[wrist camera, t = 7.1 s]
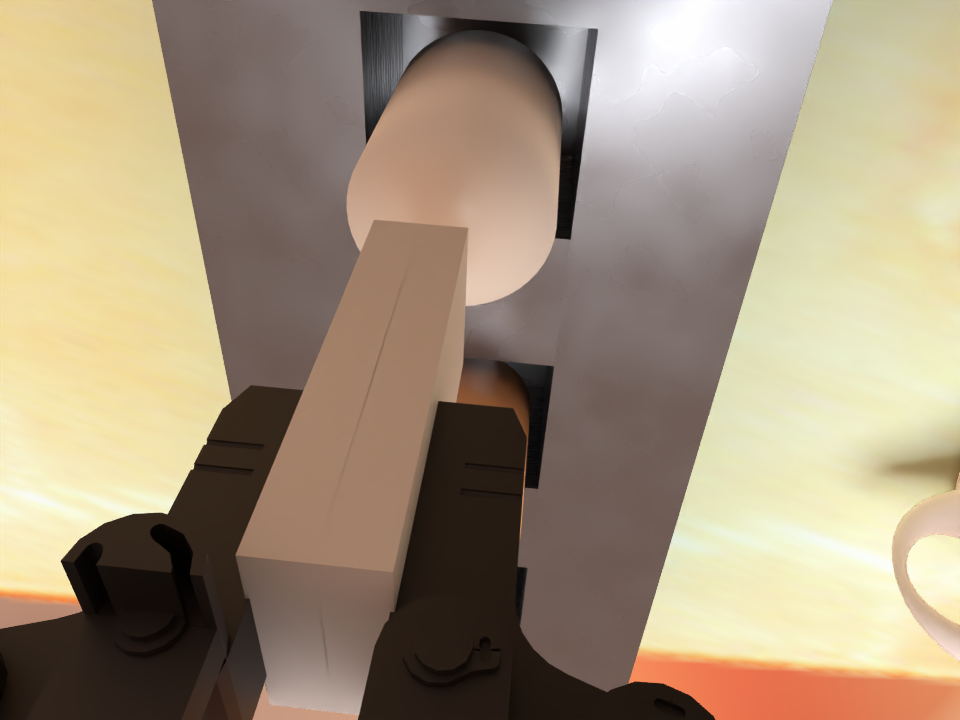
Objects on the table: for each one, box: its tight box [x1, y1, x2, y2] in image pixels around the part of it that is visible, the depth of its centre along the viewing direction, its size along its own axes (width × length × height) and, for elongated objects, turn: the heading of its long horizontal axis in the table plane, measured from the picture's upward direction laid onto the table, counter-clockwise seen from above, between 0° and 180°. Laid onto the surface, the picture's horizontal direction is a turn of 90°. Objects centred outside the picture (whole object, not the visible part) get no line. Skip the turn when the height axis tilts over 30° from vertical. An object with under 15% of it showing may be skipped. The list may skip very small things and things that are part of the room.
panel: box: [152, 0, 833, 692], centre depth 26 cm, size 32×14×6 cm, turn 178°
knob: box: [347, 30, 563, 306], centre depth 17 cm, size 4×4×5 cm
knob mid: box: [456, 357, 531, 537], centre depth 23 cm, size 4×4×5 cm
